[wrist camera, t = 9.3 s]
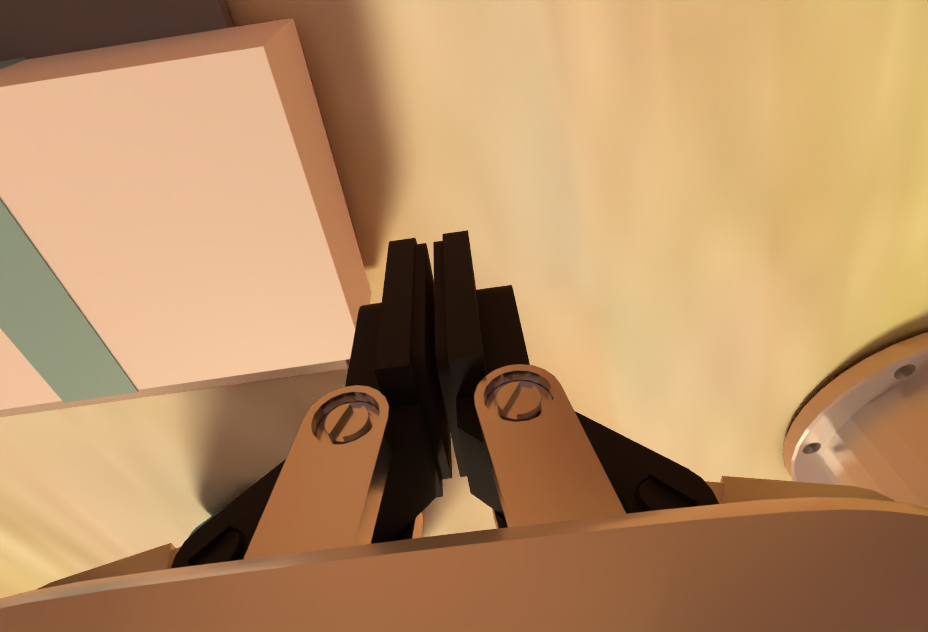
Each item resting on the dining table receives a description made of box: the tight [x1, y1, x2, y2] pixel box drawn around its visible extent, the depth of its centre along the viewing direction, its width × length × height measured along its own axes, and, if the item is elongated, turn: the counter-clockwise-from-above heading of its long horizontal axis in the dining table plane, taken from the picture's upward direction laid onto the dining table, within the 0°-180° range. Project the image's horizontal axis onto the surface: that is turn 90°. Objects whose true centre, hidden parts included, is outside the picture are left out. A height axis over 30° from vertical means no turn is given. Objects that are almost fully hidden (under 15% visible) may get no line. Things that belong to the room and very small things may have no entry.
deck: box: [0, 18, 371, 410], centre depth 16 cm, size 4×9×12 cm
